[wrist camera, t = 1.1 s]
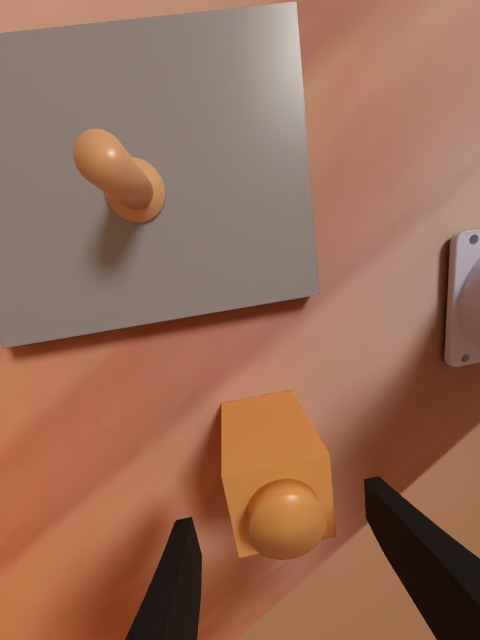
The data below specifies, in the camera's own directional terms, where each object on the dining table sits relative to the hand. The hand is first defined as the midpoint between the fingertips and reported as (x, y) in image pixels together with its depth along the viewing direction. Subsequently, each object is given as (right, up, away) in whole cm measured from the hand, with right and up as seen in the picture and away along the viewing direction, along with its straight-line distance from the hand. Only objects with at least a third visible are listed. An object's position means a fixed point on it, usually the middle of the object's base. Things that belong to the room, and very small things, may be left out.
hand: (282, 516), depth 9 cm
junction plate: (-6, +14, +2) cm, 15 cm away
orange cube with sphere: (0, +1, +5) cm, 5 cm away
